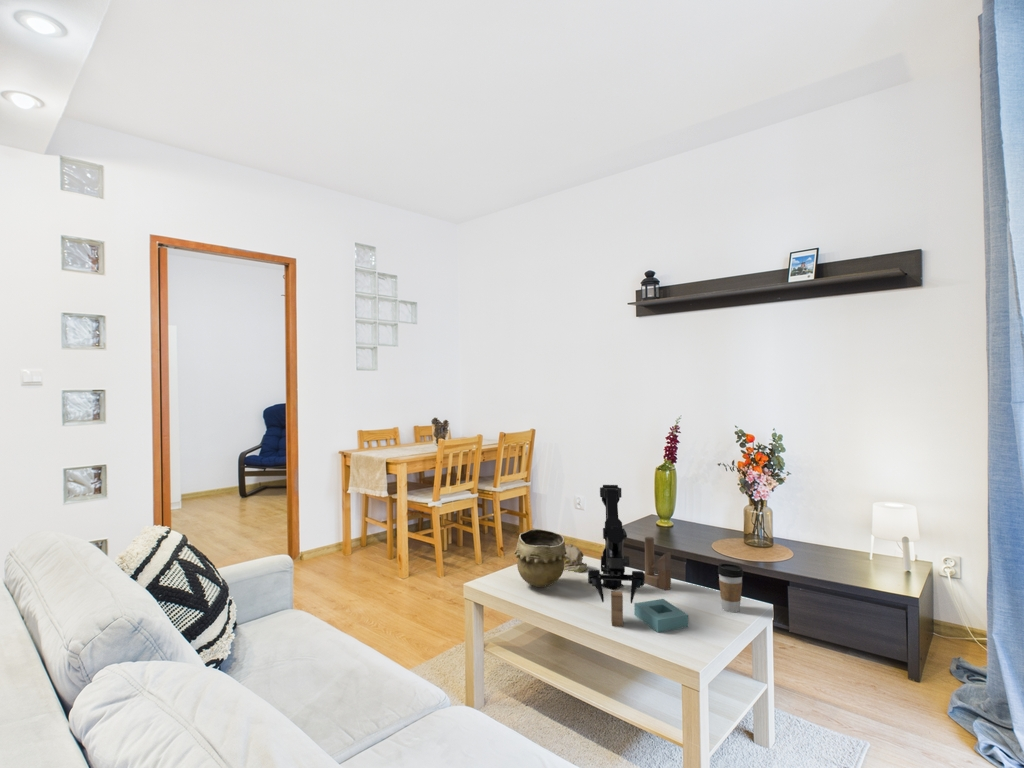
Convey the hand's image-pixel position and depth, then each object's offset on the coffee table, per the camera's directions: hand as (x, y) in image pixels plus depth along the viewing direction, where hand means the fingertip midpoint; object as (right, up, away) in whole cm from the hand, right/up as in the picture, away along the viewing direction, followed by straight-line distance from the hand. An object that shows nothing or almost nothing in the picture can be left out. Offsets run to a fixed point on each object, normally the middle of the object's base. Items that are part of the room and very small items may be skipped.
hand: (617, 602), depth 180 cm
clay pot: (-23, -8, +36) cm, 43 cm away
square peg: (0, -7, +1) cm, 8 cm away
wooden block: (+22, -7, +35) cm, 42 cm away
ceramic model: (-9, -8, +57) cm, 58 cm away
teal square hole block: (+15, -7, +3) cm, 17 cm away
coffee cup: (+42, -7, +12) cm, 44 cm away
